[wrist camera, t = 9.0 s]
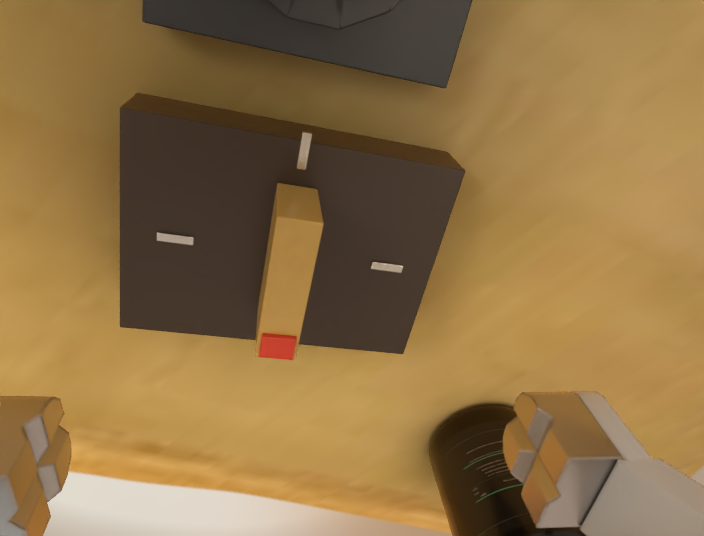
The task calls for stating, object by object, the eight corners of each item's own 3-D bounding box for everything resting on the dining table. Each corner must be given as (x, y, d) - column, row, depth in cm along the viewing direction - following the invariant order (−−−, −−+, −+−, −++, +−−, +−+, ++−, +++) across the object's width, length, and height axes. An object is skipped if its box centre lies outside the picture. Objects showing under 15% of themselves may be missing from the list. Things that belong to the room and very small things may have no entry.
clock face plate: (133, 301, 24) (118, 336, 22) (137, 83, 19) (118, 97, 17) (391, 329, 27) (401, 362, 25) (450, 144, 22) (470, 163, 20)
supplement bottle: (520, 470, 34) (622, 681, 24) (422, 480, 34) (485, 702, 23) (539, 396, 31) (669, 606, 21) (431, 406, 30) (510, 629, 20)
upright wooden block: (277, 182, 19) (276, 219, 16) (317, 188, 20) (324, 226, 17) (257, 309, 22) (254, 361, 19) (293, 313, 23) (295, 364, 20)
